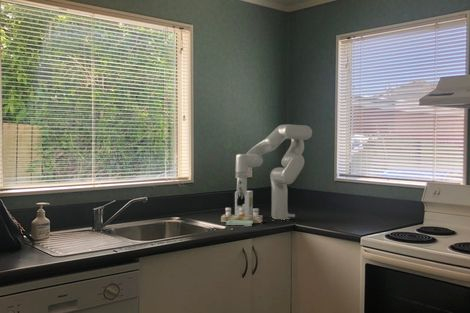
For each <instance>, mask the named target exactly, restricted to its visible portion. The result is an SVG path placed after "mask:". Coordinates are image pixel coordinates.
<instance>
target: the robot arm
mask: <svg viewBox="0 0 470 313" xmlns="http://www.w3.org/2000/svg"><path fill="white" fill-rule="evenodd" d="M312 136H313V130H312V128H311V127H310V126H309V125H304V124H303V125H302V124H288V123H287V124H280V125H278V126H277V127H276V128H275V129H274V130H273V131H272V132H270V134H268V136H266V138H264V139H263V140H262V141H260V142H258V143H257V144H255V145H254V146H252V148H250V149H249V150H248V151H247V152H246V153H238V154H236V155H235V173H234V174H235V175H234V176H235V179H236V191H237V195H238V197H237V206H243V204H245V195H246V194H247V191H248V187H247V186H248V184H247V183H248V180H247V179H248V178H249V167H253V168H258V167H260V166H261V165H262V164H264V160H263V157H262V156H263V155H265V154H268V153H270V152H273V151H275V150H276V149H277V148H278V147H279V146H280V145H281V144H282V143H283V142H284V141H285V140H286V139H287V140H288V139H289V140H290V141H291V142H290V146H289V147H288V149H287V151H286V152H285V154H284V155H283V157H282V159H281V162H280V163H281V165H282V167H275V168H273V169H272V170H271V171H270V175H269V176H270V177H269V179H270V183H271V217H272V218H274V219H281V220H282V219H283V220H285V219H290V220H291V218H295V217H296V214H295V213H294V214H293V213H289V212H288V194H289V192H288V185H291V184H293V183H294V181H296V180H297V177H298V176H299V174H300V173H301V171H302V170H303V168H304V165H305V158H304V156H303V155H302V154H303V153H304V150H305V142H304V140H306V141H307V140H309V139H311V137H312Z"/></svg>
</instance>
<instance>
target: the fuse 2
mask: <svg viewBox="0 0 470 313" xmlns="http://www.w3.org/2000/svg"><path fill="white" fill-rule="evenodd" d="M259 211H260V209H259V208H257V207H256V208H255V207H254V208H253V217H258V215H259Z"/></svg>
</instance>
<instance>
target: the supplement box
mask: <svg viewBox="0 0 470 313" xmlns="http://www.w3.org/2000/svg"><path fill="white" fill-rule="evenodd" d="M253 192H254V191H253V190H247V194H246V195H245V204H243V206H237V197H238V195H237V190H236V191H234V215H239V208H245V212H244V213H245V215H253V206H254V205H253V204H254V203H253V202H254V200H253V198H254V196H253V195H254V193H253Z"/></svg>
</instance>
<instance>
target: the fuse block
mask: <svg viewBox="0 0 470 313" xmlns="http://www.w3.org/2000/svg"><path fill="white" fill-rule="evenodd" d="M263 218H264V217H263V215H259V214H258V217H253V215H245V216H244V217H239V215H235V214H231V216H226V214H222V215H221V217H220V223H221V222H227V221H228V220H243V221H253V223H261V222H262V223H263V220H264V219H263ZM262 223H261V224H262Z"/></svg>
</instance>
